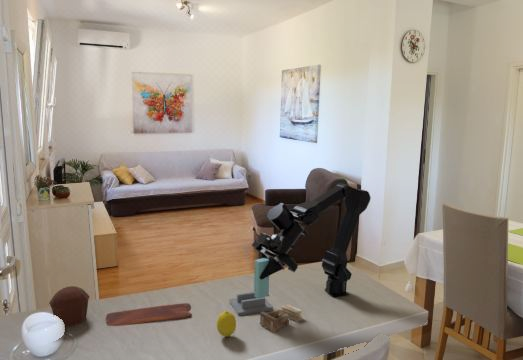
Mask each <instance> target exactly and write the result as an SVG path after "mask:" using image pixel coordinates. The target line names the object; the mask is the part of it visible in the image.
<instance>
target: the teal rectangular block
mask: <svg viewBox="0 0 523 360" xmlns="http://www.w3.org/2000/svg"><path fill="white" fill-rule="evenodd" d="M268 263H269V260H268V259H267V258H262V259H260V258H258V259H254V268H253V269H254V273H253V274H254V277H253V279H254V280H253V285H254V287H253V292H254V296H255V297H256V298H258V299H260V298H263V297H265V298H266V297H269V296H270V276H268V277H266V278H264V279H262V280H261V279H260V278H259V277H260V275H261V274H262V272H263V270H264V269H265V267H266V266H267V264H268Z"/></svg>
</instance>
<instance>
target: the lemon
mask: <svg viewBox="0 0 523 360" xmlns="http://www.w3.org/2000/svg"><path fill="white" fill-rule="evenodd" d="M216 328H217V331H218V334H220V335H221V336H222V337H223V336H224V337H225V338H228V337H230V336H231V335H233V334H234V333H235V331H236V328H237V320H236V317H235V315H234V314H233V313H232V312H231V311H228V310H226V311H223V312H221V313H220V314H219V315H218V317H217V321H216Z"/></svg>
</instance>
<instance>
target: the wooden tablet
mask: <svg viewBox="0 0 523 360" xmlns="http://www.w3.org/2000/svg"><path fill="white" fill-rule="evenodd" d="M191 309H192V307H191V304H190V303H188V302H187V303H185V302H184V303H175V304H173V303H172V304H164V305H158V306H157V305H156V306H150V307H149V306H148V307H143V308H141V307H140V308H136V309H128V310H127V309H126V310H122V311H115V312H109V313H107V314H106V317H105V320H104V321H105V324H106V325H107V327H108V326H109V327H120V326H121V327H122V326H123V327H124V326H128V325H129V326H130V325H136V324H143V323H151V322H153V323H154V322H163V321H173V320H182V319H188V318H192V317H193V315H192V314H193V313H191V312H190V311H191Z"/></svg>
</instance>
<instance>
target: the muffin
mask: <svg viewBox="0 0 523 360" xmlns="http://www.w3.org/2000/svg"><path fill="white" fill-rule="evenodd" d="M89 299H90V295H89V294H88V293H87V292H86V290H85V289H83V288H81V287H78V286H76V285H75V286H71V285H70V286H66V287H63V288H61V289H59V290H58V291H56V293H54V295H53V297H52V298H51V299H50V300H49V302H48V305H49V306H50V308H51V311H52V315H53V316H54V315H56V316H58V317H59V318H60V319H62V320H63V322H64V324H65V326H66V327H67V328H68V327H74V326H76V325H79V324H82V323H83V322H84V321H85V320H86V319H87V312H88V305H89Z"/></svg>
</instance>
